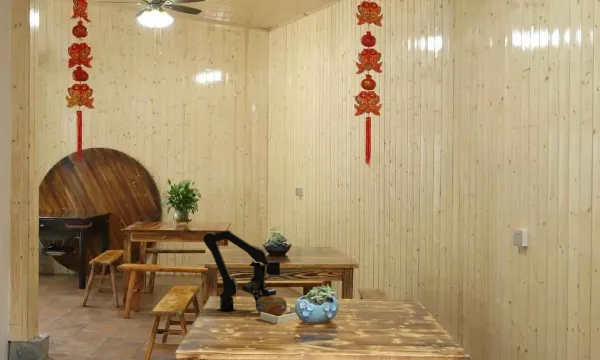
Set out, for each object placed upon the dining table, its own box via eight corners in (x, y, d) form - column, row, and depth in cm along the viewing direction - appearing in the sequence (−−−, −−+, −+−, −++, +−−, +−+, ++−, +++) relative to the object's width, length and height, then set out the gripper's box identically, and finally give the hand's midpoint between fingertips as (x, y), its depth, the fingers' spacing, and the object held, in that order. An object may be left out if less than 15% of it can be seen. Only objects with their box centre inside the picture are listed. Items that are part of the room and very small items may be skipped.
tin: (255, 313, 276) (255, 295, 276) (257, 312, 279) (257, 294, 279) (285, 316, 272) (285, 298, 272) (287, 314, 275) (287, 296, 275)
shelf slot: (260, 319, 266) (260, 312, 266) (291, 312, 280) (291, 306, 280) (277, 324, 258) (277, 317, 258) (308, 316, 272) (308, 310, 272)
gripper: (233, 274, 282) (233, 306, 282) (259, 280, 269) (259, 313, 269) (251, 272, 290) (250, 303, 290) (277, 277, 277) (276, 309, 278)
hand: (258, 307), depth 282 cm, fingers closed
